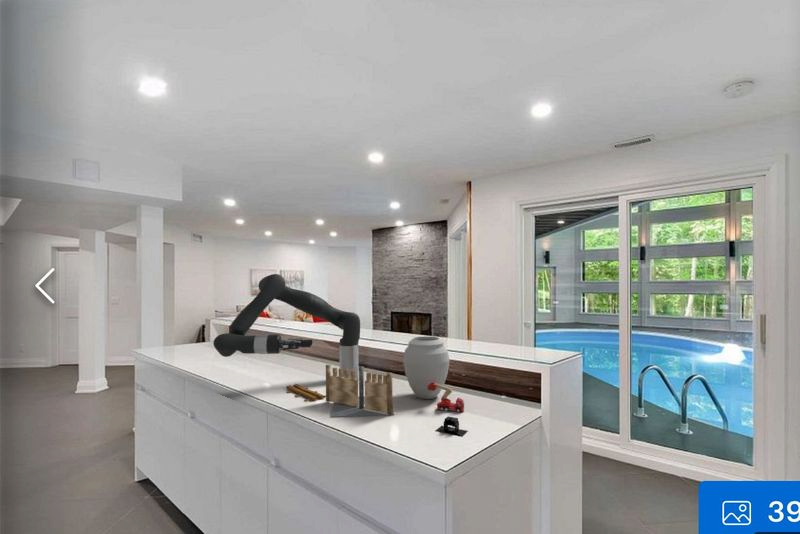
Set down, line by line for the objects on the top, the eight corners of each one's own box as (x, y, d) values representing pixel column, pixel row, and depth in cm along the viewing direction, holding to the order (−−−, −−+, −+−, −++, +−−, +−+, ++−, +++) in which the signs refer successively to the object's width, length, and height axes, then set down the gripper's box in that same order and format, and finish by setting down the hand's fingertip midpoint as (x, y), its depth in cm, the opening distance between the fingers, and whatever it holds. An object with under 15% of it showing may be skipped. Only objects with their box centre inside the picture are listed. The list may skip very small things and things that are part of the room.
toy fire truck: (463, 413, 145) (463, 386, 146) (427, 409, 150) (427, 383, 150) (465, 410, 148) (464, 384, 149) (429, 406, 153) (429, 381, 153)
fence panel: (358, 405, 153) (358, 368, 153) (355, 407, 151) (355, 369, 151) (328, 399, 160) (328, 364, 161) (324, 401, 159) (324, 365, 159)
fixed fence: (358, 409, 150) (357, 367, 151) (361, 407, 152) (360, 366, 152) (390, 416, 143) (390, 371, 143) (393, 414, 144) (393, 370, 145)
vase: (459, 395, 166) (458, 337, 167) (430, 407, 152) (429, 343, 153) (423, 387, 179) (422, 333, 180) (393, 397, 165) (393, 338, 166)
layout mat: (335, 398, 165) (335, 396, 165) (390, 396, 166) (390, 395, 167) (330, 418, 141) (330, 416, 141) (394, 415, 143) (394, 414, 143)
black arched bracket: (429, 433, 128) (429, 418, 129) (438, 425, 135) (438, 412, 135) (465, 440, 122) (465, 425, 122) (473, 432, 128) (473, 417, 129)
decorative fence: (308, 404, 159) (329, 399, 166) (308, 399, 159) (329, 394, 166) (281, 391, 178) (301, 387, 184) (281, 387, 178) (301, 382, 184)
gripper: (263, 337, 150) (308, 336, 152) (272, 332, 165) (314, 331, 166) (263, 357, 150) (308, 356, 152) (272, 350, 164) (314, 349, 166)
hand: (311, 343), depth 159 cm, fingers open, 3 cm apart
